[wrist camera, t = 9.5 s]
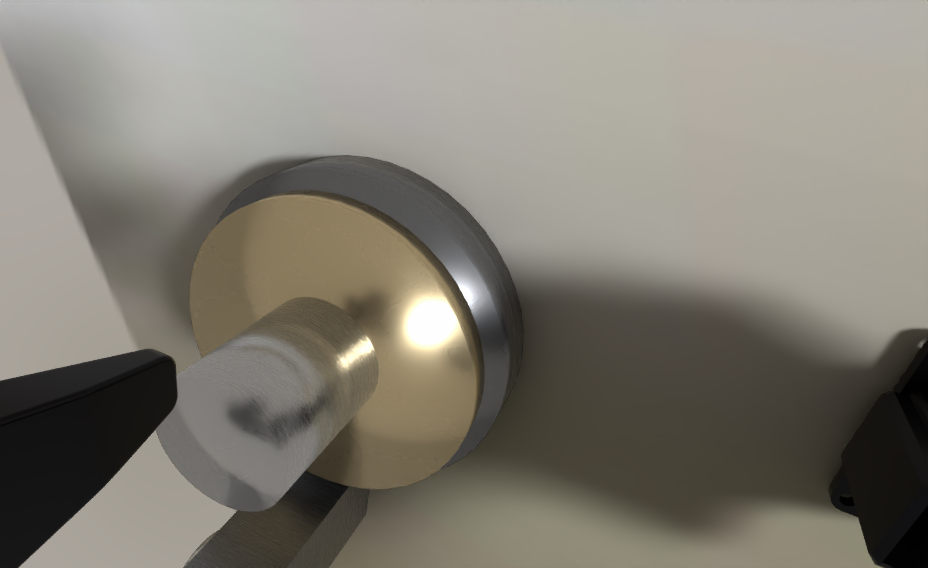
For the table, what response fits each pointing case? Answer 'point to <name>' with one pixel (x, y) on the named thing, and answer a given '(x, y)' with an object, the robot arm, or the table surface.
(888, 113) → the table surface
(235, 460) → the cylinder
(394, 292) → the pan
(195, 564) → the base
